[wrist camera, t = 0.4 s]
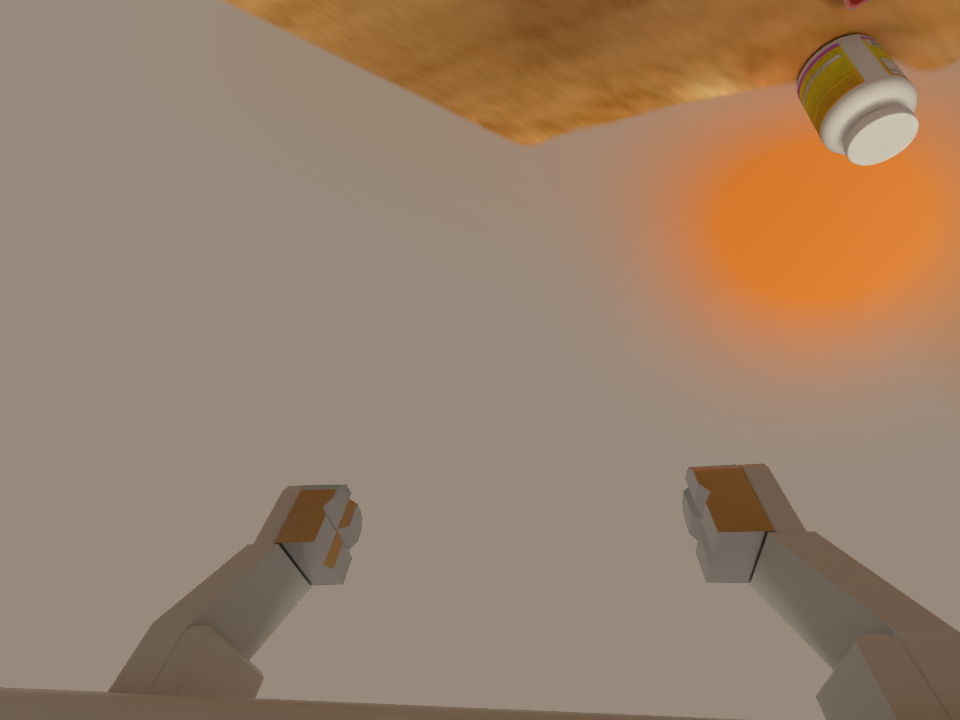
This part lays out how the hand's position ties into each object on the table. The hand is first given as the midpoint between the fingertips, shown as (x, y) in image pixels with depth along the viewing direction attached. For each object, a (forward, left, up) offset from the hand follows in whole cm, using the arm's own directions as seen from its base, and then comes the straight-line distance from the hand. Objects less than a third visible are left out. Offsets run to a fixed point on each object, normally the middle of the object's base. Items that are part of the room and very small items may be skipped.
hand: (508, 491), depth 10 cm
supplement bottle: (+24, +19, -50) cm, 59 cm away
